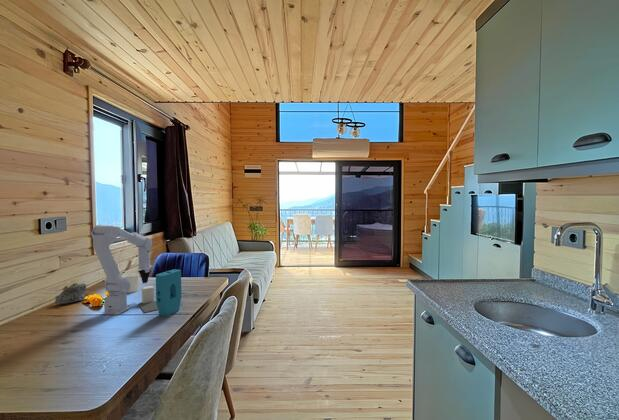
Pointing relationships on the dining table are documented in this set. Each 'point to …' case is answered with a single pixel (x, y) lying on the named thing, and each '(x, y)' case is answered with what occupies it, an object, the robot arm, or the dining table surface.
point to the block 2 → (168, 292)
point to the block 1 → (147, 294)
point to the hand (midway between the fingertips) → (144, 282)
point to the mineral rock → (72, 294)
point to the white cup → (133, 282)
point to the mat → (148, 306)
